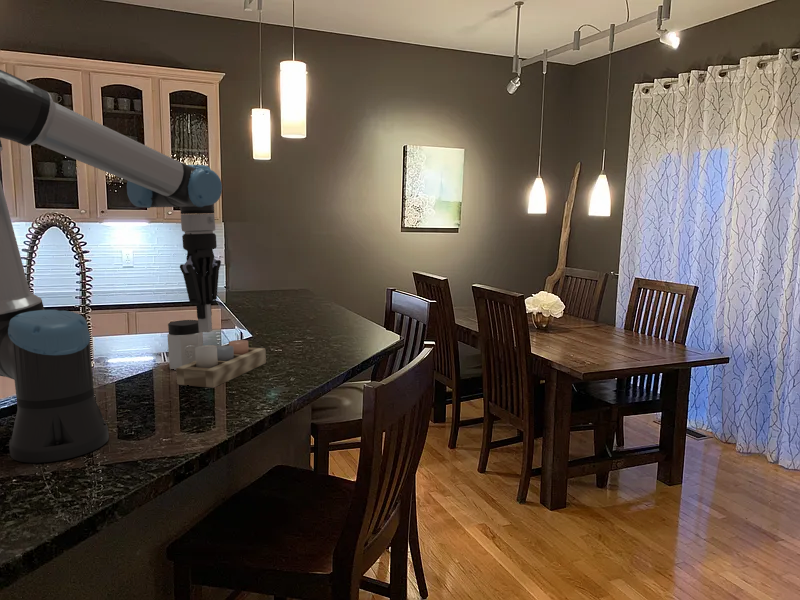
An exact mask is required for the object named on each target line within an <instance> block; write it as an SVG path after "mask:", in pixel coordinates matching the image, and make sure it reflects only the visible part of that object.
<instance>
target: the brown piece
mask: <svg viewBox="0 0 800 600" xmlns="http://www.w3.org/2000/svg"><path fill="white" fill-rule="evenodd" d="M228 346H233V349H234V354H238V355H244V354H246V353H248V352H249V340H247V339H234V340H230V341H228Z"/></svg>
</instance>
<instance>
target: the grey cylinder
mask: <svg viewBox="0 0 800 600" xmlns="http://www.w3.org/2000/svg"><path fill="white" fill-rule="evenodd" d="M216 346H217V345H216ZM217 358H218V361H229V360H232V359H234V349H233V346H229V344H228V345H225V344H224V345H218V346H217Z"/></svg>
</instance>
